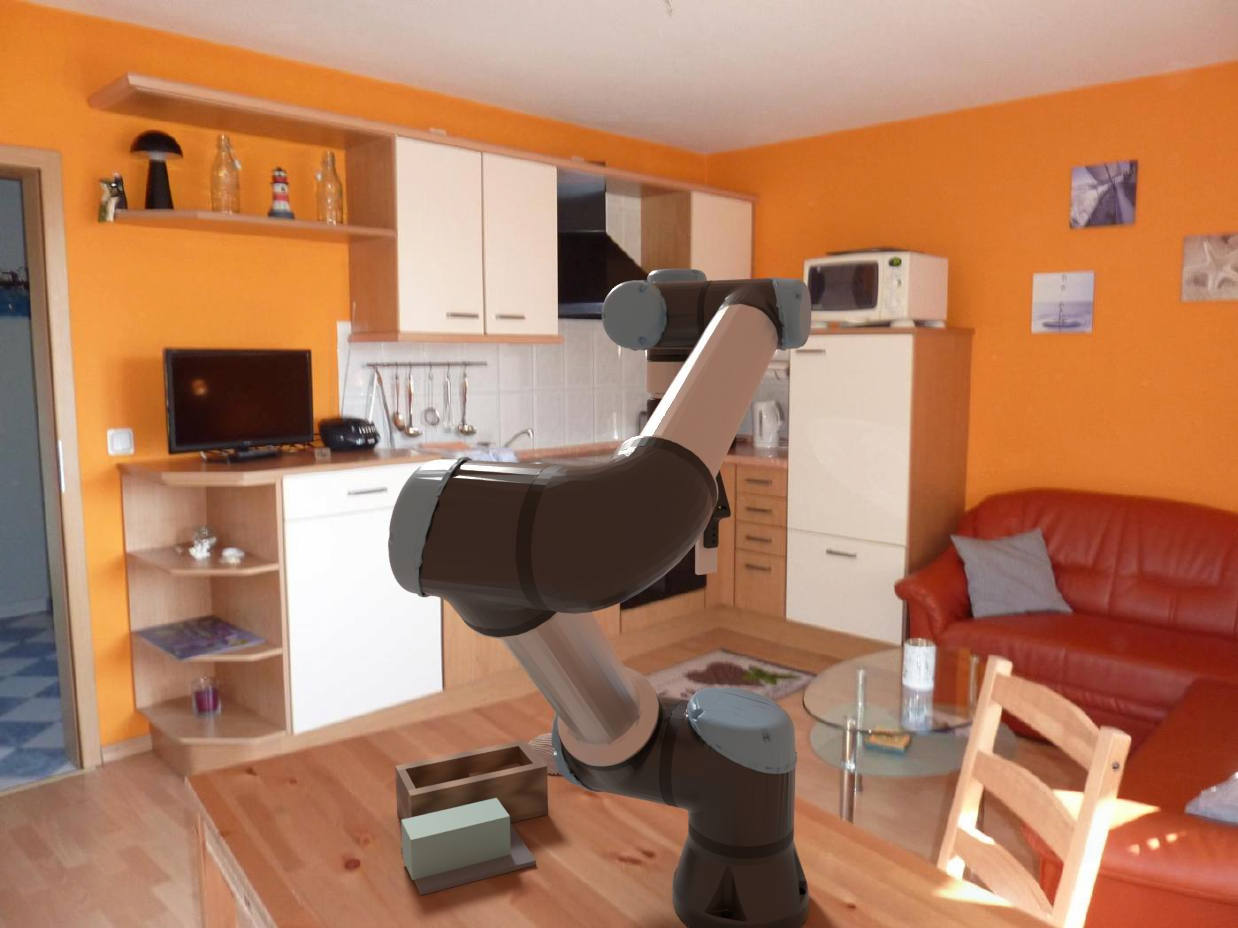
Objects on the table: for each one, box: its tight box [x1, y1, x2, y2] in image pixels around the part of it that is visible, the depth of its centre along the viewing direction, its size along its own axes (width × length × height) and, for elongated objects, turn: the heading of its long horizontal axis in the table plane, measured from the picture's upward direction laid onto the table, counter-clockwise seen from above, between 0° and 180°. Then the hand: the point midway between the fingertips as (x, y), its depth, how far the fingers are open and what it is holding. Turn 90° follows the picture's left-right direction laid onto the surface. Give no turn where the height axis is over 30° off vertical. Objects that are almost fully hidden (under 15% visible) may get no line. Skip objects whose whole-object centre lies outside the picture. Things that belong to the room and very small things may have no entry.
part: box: [400, 798, 511, 881], centre depth 111 cm, size 12×5×5 cm, turn 116°
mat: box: [400, 823, 537, 896], centre depth 112 cm, size 10×14×1 cm
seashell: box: [527, 732, 562, 776], centre depth 139 cm, size 10×6×10 cm
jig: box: [394, 739, 549, 824], centre depth 122 cm, size 18×9×7 cm, turn 115°
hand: (676, 561), depth 118 cm, fingers open, 13 cm apart
